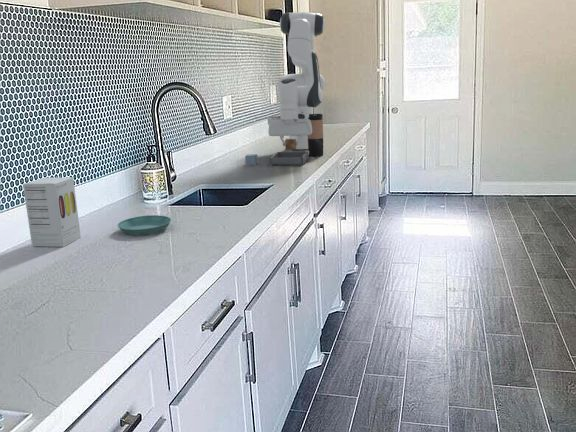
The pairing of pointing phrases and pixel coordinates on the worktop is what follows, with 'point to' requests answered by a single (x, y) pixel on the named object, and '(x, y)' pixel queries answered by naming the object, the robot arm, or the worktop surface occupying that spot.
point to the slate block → (251, 159)
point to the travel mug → (316, 136)
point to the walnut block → (290, 144)
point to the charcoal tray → (289, 158)
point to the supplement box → (52, 211)
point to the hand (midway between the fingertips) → (290, 145)
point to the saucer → (144, 225)
